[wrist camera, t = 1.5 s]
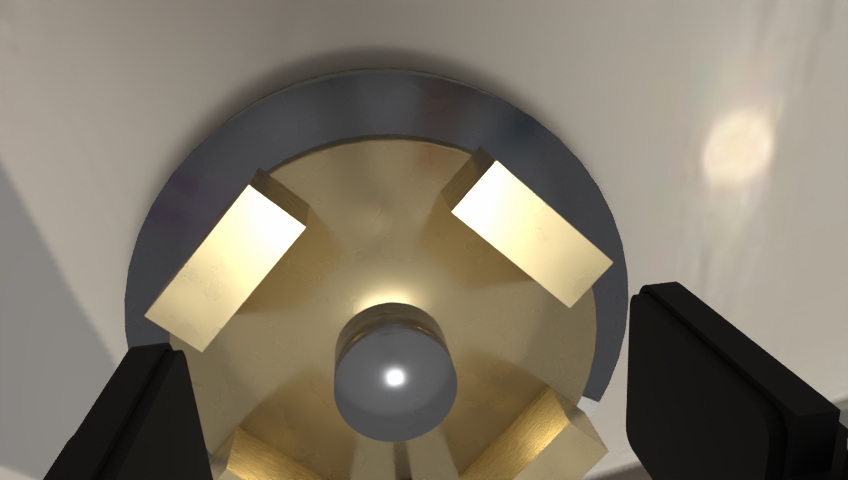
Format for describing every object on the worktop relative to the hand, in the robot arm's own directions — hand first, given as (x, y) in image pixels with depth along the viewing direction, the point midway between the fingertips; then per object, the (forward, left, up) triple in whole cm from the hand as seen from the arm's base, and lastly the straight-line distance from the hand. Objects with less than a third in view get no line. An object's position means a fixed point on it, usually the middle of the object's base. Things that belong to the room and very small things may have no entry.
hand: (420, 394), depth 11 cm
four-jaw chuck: (+8, 0, -19) cm, 20 cm away
